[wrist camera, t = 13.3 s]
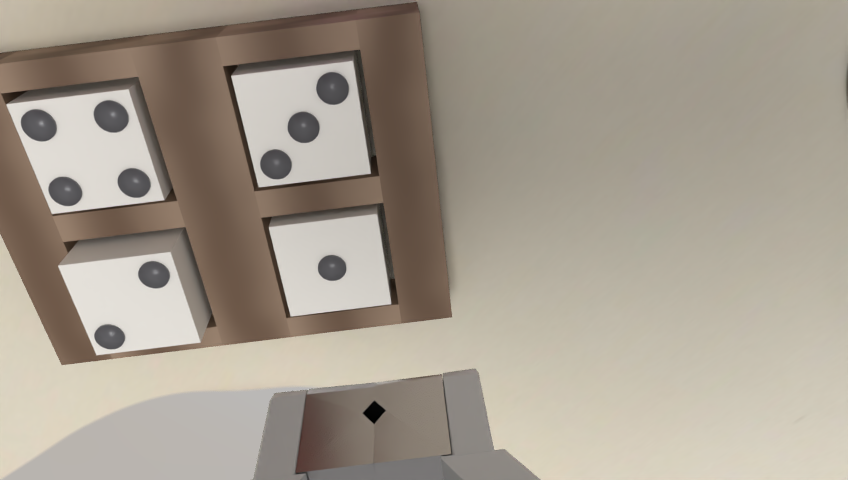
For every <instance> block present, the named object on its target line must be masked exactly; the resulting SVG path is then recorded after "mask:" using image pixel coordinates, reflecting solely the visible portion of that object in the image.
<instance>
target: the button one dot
mask: <svg viewBox="0 0 848 480" xmlns="http://www.w3.org/2000/svg"><path fill="white" fill-rule="evenodd" d="M269 231H270V235H271V239H272V243H273V247H274V251H275V255H276V259H277V263H278V267H279V272H280V276H281V280H282V284H283V288H284V292H285V296H286V300H287V304H288V308H289V312H290V316H299V315H308V314H316V313H324V312H332V311H340V310H348V309H357V308H365V307H373V306H381V305H389V304H391V275H390V269H389V262H388V256H387V249H386V243H385V236H384V230H383V224H382V217H381V211H380V204H379V203H377V204H369V205H361V206H353V207H345V208H336V209H328V210H320V211H312V212H304V213H296V214H288V215H279V216H272V218H271V221H270V224H269Z"/></svg>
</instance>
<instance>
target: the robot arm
mask: <svg viewBox="0 0 848 480" xmlns="http://www.w3.org/2000/svg"><path fill="white" fill-rule="evenodd" d="M443 386H444V387H443ZM253 480H540V479H539V478H538V477H537V476H536V475H534V474H533V473H532V472H531V471H530V470H529V469H527V468H526V467H525V466H524V465H523V464H521V463H520V462H519V461H518V460H517V459H516V458H514V457H513V456H512V455H511V454H510V453H508V452H507V451H506V450H505V449H502V450H494V447H493V442H492V437H491V432H490V427H489V422H488V417H487V412H486V407H485V402H484V397H483V393H482V388H481V383H480V378H479V373H478V371H477V370H476V369H469V370H462V371H455V372H448V373H443V380H442V374H440V375H432V376H424V377H416V378H408V379H400V380H393V381H385V382H377V383H366V384H355V385H345V386H335V387H325V388H315V389H309V390H300V391H291V392H281V393H275V394H274V395H273V397H272V398H271V400H270V403H269V408H268V412H267V418H266V422H265V427H264V431H263V436H262V441H261V446H260V450H259V455H258V460H257V464H256V469H255V474H254V479H253Z"/></svg>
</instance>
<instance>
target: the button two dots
mask: <svg viewBox="0 0 848 480" xmlns="http://www.w3.org/2000/svg"><path fill="white" fill-rule="evenodd" d="M58 267H59V270H60V272H61V274H62V277H63V279H64V281H65V283H66V286H67V288H68V290H69V293H70V295H71V297H72V300H73V302H74V304H75V307H76V309H77V311H78V314H79V316H80V318H81V321H82V323H83V325H84V327H85V330H86V332H87V334H88V337H89V339H90V341H91V344H92V346H93V348H94V351H95V353H96V355H103V354H111V353H120V352H128V351H136V350H144V349H152V348H160V347H168V346H177V345H185V344H193V343H201V341H202V338H203V335H204V333H205V330H206V327H207V325H208V322H209V320H210V317H211V314H212V310H211V306H210V303H209V300H208V297H207V294H206V291H205V287H204V284H203V281H202V278H201V275H200V271H199V268H198V265H197V262H196V259H195V256H194V252H193V249H192V246H191V243H190V240H189V237H188V233H187V230H186V227H182V228H173V229H165V230H157V231H149V232H141V233H133V234H125V235H116V236H108V237H100V238H92V239H84V240H79V241H78V242H77V243H76V244H75V246H74V247H73V248H72V249H71V250H70V252H69V253H68V254H67V255H66V257H65V258H64V259H63V260H62V261H61V263H60V264H59V265H58Z"/></svg>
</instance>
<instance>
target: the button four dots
mask: <svg viewBox="0 0 848 480" xmlns="http://www.w3.org/2000/svg"><path fill="white" fill-rule="evenodd" d="M6 105H7V108H8V110H9V113H10V115H11V117H12V120H13V122H14V125H15V127H16V129H17V132H18V134H19V136H20V139H21V141H22V144H23V146H24V148H25V151H26V153H27V156H28V158H29V160H30V163H31V165H32V168H33V170H34V172H35V175H36V177H37V179H38V182H39V184H40V187H41V189H42V191H43V194H44V196H45V199H46V201H47V203H48V206H49V208H50V211H51V213H52V214H56V213H64V212H73V211H81V210H89V209H97V208H105V207H113V206H121V205H130V204H138V203H146V202H154V201H162V200H165V199H166V197H167V196H168V194H169V193H170V191H171V190H172V188H173V186H172V183H171V179H170V176H169V173H168V170H167V167H166V164H165V160H164V157H163V154H162V151H161V148H160V144H159V141H158V138H157V135H156V132H155V129H154V125H153V122H152V119H151V116H150V113H149V110H148V106H147V103H146V100H145V97H144V94H143V90H142V87H141V84H140V81H139V78H138V77H132V78H124V79H115V80H107V81H99V82H91V83H83V84H75V85H67V86H58V87H50V88H42V89H34V90H29V91H27V92H25V93H24V94H22V95H20V96H19V97H17V98H16V99H14V100H12V101H11V102H9V103H7V104H6Z"/></svg>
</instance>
